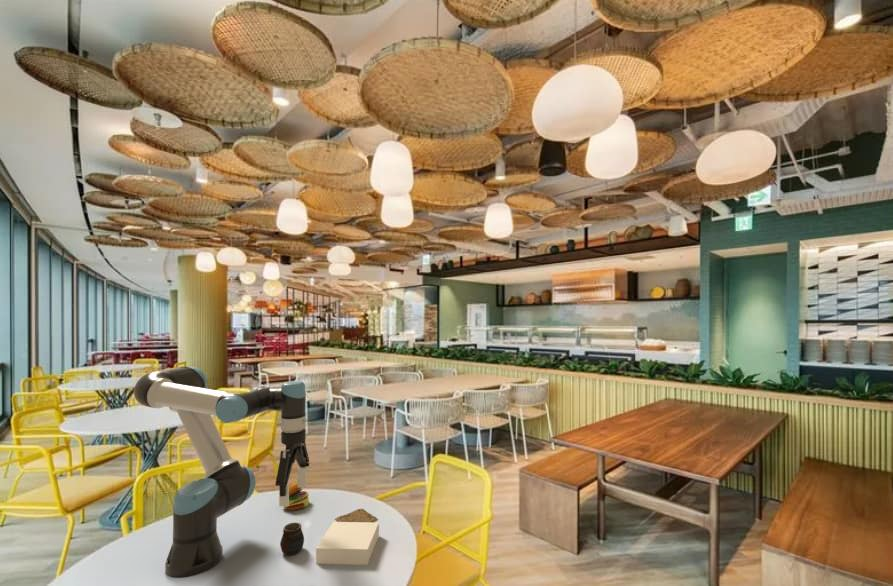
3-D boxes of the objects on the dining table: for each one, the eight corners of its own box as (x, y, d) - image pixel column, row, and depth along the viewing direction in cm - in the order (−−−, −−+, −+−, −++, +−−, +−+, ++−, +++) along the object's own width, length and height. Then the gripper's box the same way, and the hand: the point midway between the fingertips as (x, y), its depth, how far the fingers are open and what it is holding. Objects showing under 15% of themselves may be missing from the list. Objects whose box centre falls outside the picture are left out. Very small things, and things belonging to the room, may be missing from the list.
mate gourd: (298, 542, 138) (298, 512, 138) (308, 552, 132) (308, 520, 133) (277, 551, 133) (277, 519, 133) (286, 561, 127) (286, 528, 128)
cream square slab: (316, 565, 126) (316, 548, 126) (333, 536, 142) (333, 521, 142) (367, 566, 125) (367, 549, 125) (379, 537, 141) (378, 522, 141)
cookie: (333, 520, 153) (333, 517, 153) (362, 509, 161) (362, 507, 161) (349, 533, 144) (349, 530, 144) (379, 520, 152) (379, 518, 152)
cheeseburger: (301, 512, 158) (295, 486, 159) (277, 517, 160) (271, 491, 161) (314, 500, 168) (309, 476, 169) (292, 505, 170) (286, 480, 171)
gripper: (288, 441, 122) (287, 514, 121) (318, 419, 147) (318, 480, 146) (263, 441, 122) (263, 514, 121) (298, 419, 147) (298, 480, 146)
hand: (293, 496), depth 133 cm, fingers open, 13 cm apart
